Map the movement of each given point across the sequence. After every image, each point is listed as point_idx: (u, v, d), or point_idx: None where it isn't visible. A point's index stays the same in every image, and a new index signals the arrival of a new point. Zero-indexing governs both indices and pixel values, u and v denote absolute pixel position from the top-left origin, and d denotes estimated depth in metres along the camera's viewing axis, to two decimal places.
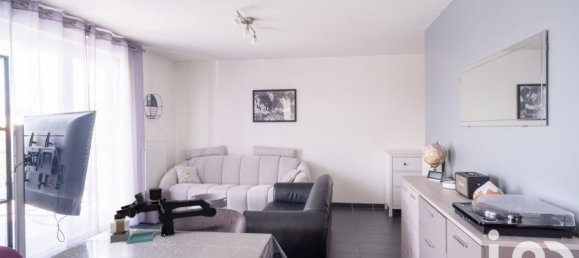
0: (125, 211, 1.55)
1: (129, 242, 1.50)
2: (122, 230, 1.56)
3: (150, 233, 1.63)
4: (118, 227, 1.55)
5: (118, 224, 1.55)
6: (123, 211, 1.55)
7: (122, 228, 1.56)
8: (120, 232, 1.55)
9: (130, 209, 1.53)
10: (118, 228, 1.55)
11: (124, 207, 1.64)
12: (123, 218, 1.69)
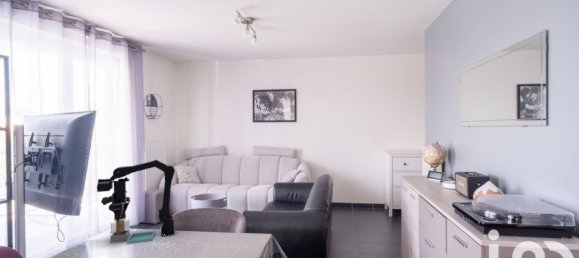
0: (117, 212, 1.51)
1: (129, 242, 1.50)
2: (122, 230, 1.56)
3: (150, 233, 1.63)
4: (118, 227, 1.55)
5: (118, 224, 1.55)
6: (117, 214, 1.51)
7: (122, 228, 1.56)
8: (120, 232, 1.55)
9: (111, 208, 1.47)
10: (118, 228, 1.55)
11: (122, 213, 1.61)
12: (123, 218, 1.69)
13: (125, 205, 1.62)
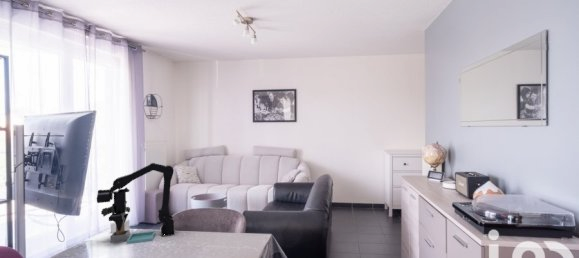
0: (118, 222, 1.53)
1: (129, 242, 1.50)
2: (122, 230, 1.56)
3: (150, 233, 1.63)
4: None
5: None
6: (118, 224, 1.53)
7: (122, 228, 1.56)
8: (120, 232, 1.55)
9: (111, 219, 1.47)
10: None
11: None
12: None
13: (124, 216, 1.59)
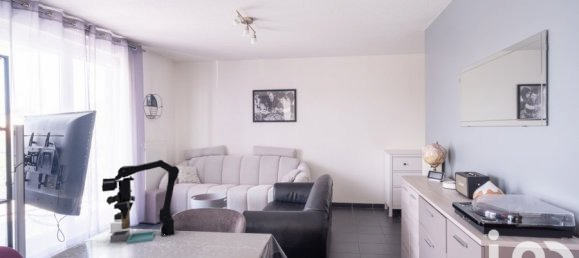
0: (123, 210, 1.54)
1: (129, 242, 1.50)
2: (127, 218, 1.56)
3: (150, 233, 1.63)
4: None
5: None
6: (123, 212, 1.54)
7: (127, 216, 1.56)
8: (125, 220, 1.55)
9: (117, 207, 1.48)
10: None
11: None
12: None
13: (129, 205, 1.60)
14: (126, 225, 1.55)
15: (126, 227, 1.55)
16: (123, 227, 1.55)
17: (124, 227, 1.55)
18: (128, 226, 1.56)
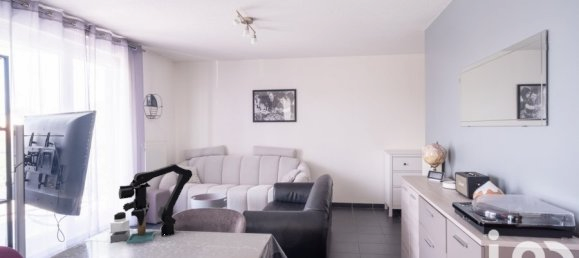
0: (140, 217, 1.54)
1: (129, 242, 1.50)
2: (143, 225, 1.56)
3: (150, 233, 1.63)
4: None
5: None
6: (140, 219, 1.54)
7: (143, 223, 1.56)
8: (141, 227, 1.55)
9: (134, 214, 1.48)
10: None
11: None
12: (123, 218, 1.69)
13: (145, 212, 1.60)
14: (142, 232, 1.55)
15: (142, 234, 1.55)
16: (139, 234, 1.55)
17: (140, 234, 1.55)
18: (144, 233, 1.56)
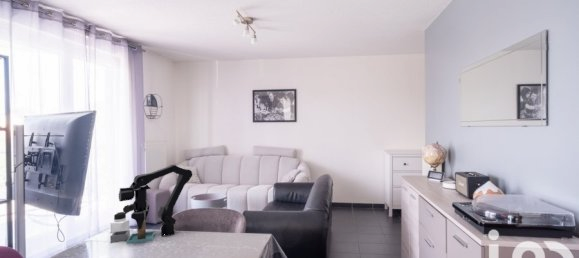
0: (139, 220, 1.52)
1: (129, 242, 1.50)
2: (143, 229, 1.56)
3: (150, 233, 1.63)
4: None
5: None
6: (139, 222, 1.52)
7: (143, 227, 1.56)
8: (141, 231, 1.55)
9: (134, 217, 1.48)
10: None
11: None
12: (123, 218, 1.69)
13: (145, 213, 1.62)
14: (142, 236, 1.55)
15: (142, 238, 1.55)
16: (139, 238, 1.55)
17: (140, 238, 1.55)
18: (144, 237, 1.56)
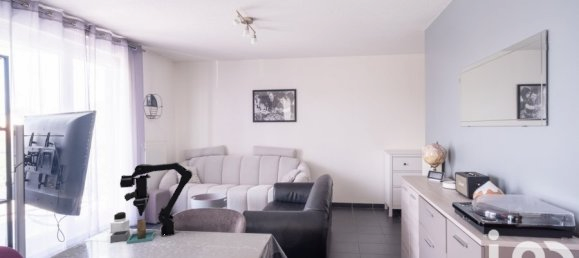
0: (140, 207, 1.57)
1: (129, 242, 1.50)
2: (143, 229, 1.56)
3: (150, 233, 1.63)
4: (139, 226, 1.55)
5: (140, 223, 1.55)
6: (140, 209, 1.57)
7: (143, 227, 1.56)
8: (141, 231, 1.55)
9: (136, 203, 1.54)
10: (139, 227, 1.55)
11: None
12: (123, 218, 1.69)
13: (145, 201, 1.68)
14: (142, 236, 1.55)
15: (142, 238, 1.55)
16: (139, 238, 1.55)
17: (140, 238, 1.55)
18: (144, 237, 1.56)
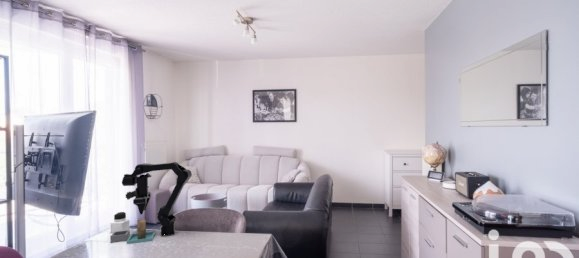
0: (140, 206, 1.61)
1: (129, 242, 1.50)
2: (143, 229, 1.56)
3: (150, 233, 1.63)
4: (139, 226, 1.55)
5: (140, 223, 1.55)
6: (140, 208, 1.61)
7: (143, 227, 1.56)
8: (141, 231, 1.55)
9: (136, 202, 1.57)
10: (139, 227, 1.55)
11: None
12: (123, 218, 1.69)
13: (147, 200, 1.72)
14: (142, 236, 1.55)
15: (142, 238, 1.55)
16: (139, 238, 1.55)
17: (140, 238, 1.55)
18: (144, 237, 1.56)
